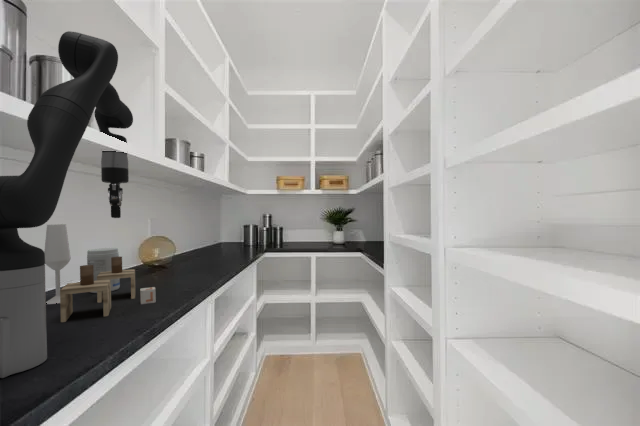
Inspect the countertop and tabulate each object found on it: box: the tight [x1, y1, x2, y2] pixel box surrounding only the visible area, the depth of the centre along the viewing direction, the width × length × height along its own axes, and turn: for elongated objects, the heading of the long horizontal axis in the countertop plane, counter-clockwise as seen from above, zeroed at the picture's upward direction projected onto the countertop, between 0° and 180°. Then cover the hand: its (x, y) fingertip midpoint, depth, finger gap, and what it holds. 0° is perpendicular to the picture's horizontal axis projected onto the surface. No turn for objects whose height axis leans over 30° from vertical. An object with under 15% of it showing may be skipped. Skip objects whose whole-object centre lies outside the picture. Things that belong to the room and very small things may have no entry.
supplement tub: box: [86, 247, 121, 294], centre depth 122 cm, size 10×10×15 cm
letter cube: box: [139, 286, 157, 305], centre depth 104 cm, size 4×4×4 cm
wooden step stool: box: [59, 264, 112, 323], centre depth 92 cm, size 10×10×13 cm
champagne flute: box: [43, 223, 71, 305], centre depth 107 cm, size 7×7×24 cm
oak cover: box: [96, 256, 136, 304], centre depth 111 cm, size 10×10×13 cm
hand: (116, 217), depth 111 cm, fingers open, 8 cm apart
